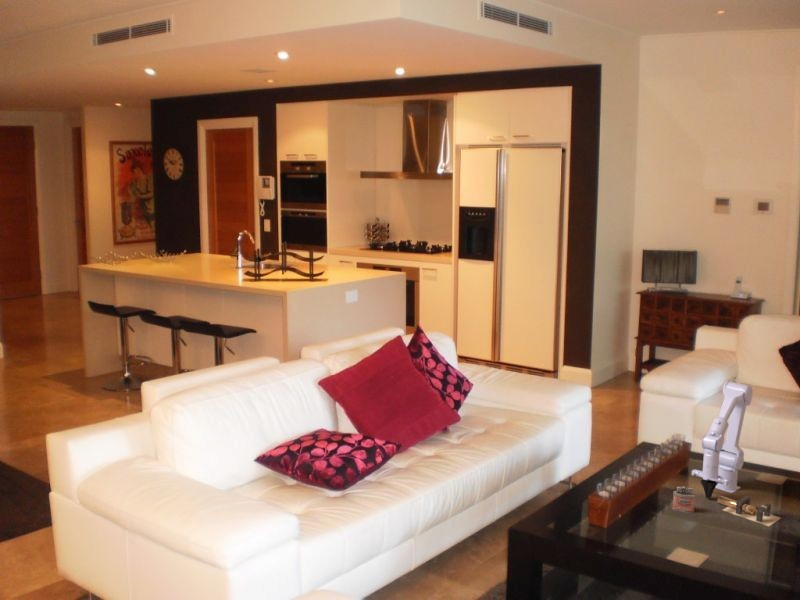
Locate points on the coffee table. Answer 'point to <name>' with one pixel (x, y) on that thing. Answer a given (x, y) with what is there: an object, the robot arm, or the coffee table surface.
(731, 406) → the robot arm
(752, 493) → the coffee table surface
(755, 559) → the coffee table surface
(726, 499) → the tube
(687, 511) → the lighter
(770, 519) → the board
